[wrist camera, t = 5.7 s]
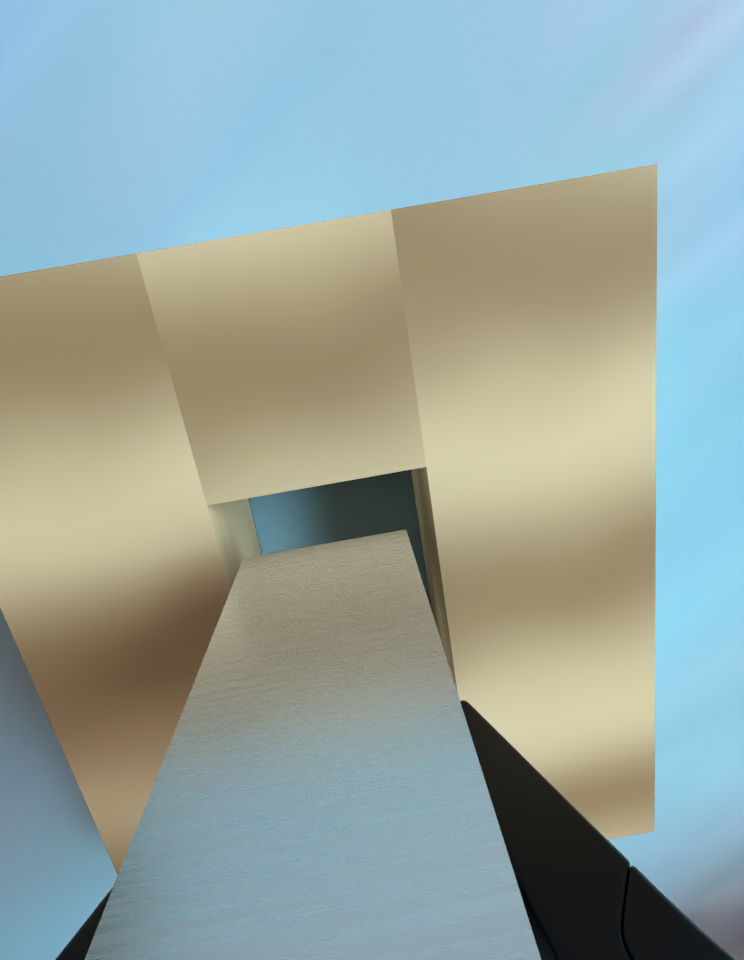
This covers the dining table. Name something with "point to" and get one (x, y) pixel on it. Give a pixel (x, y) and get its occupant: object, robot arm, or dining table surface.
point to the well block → (348, 465)
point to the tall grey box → (320, 784)
